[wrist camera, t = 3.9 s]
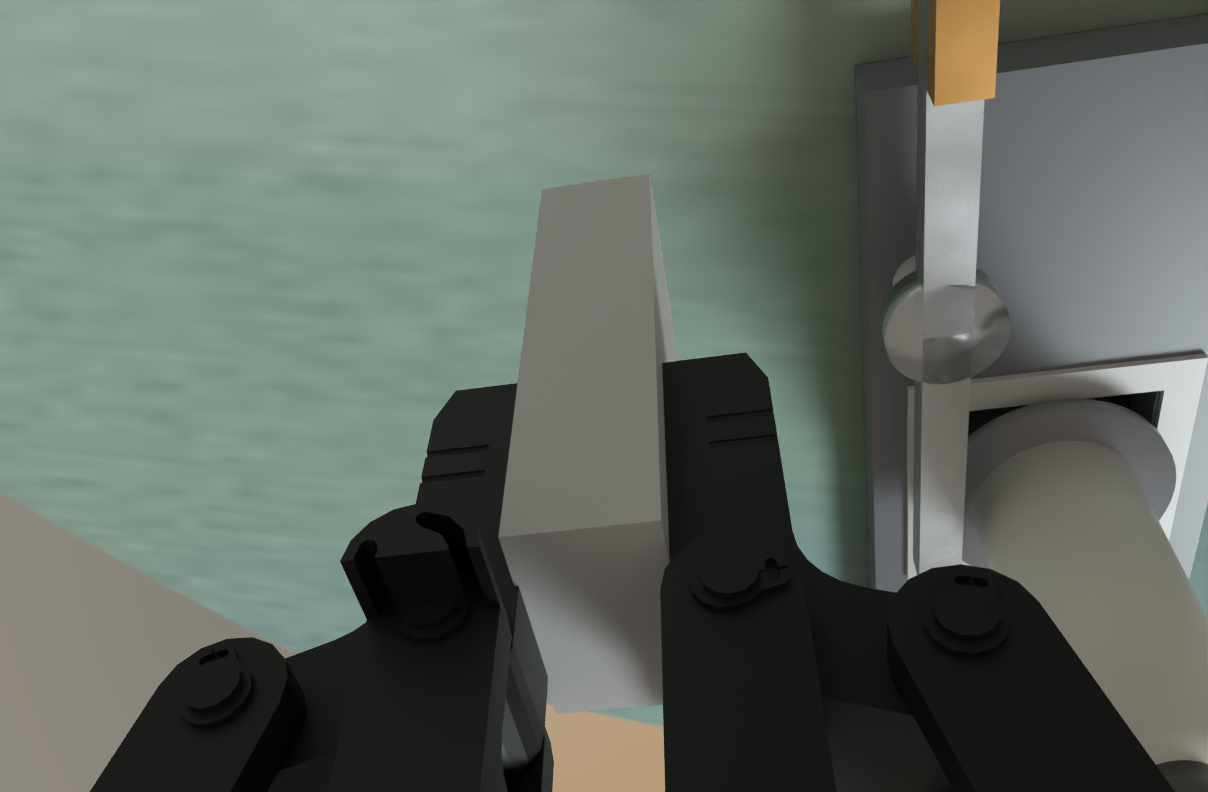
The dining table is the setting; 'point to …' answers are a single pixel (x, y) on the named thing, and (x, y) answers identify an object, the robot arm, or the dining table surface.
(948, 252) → the clip
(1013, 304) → the grey slotted tray
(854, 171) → the dining table surface
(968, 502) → the plug
